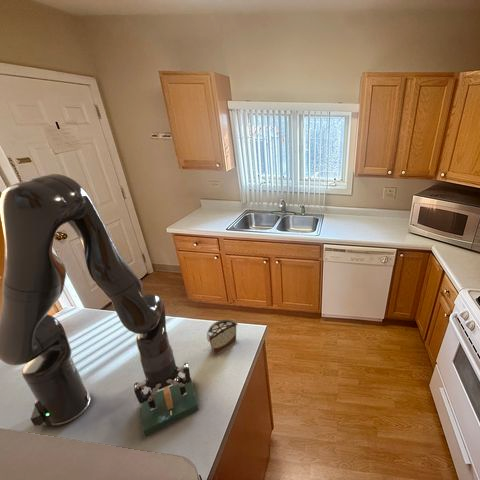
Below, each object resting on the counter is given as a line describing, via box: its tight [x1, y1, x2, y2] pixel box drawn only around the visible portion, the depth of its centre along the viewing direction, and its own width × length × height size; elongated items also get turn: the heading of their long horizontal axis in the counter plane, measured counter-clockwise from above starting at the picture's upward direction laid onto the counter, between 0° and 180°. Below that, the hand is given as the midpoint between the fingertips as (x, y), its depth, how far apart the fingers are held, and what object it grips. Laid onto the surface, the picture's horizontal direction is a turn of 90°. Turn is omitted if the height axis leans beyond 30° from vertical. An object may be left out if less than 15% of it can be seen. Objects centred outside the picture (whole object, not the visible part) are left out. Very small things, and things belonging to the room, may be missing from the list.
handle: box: [162, 386, 173, 410], centre depth 77 cm, size 6×1×5 cm, turn 35°
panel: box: [141, 377, 199, 437], centre depth 78 cm, size 14×11×3 cm
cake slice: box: [206, 318, 238, 357], centre depth 100 cm, size 12×6×10 cm, turn 141°
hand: (168, 399), depth 78 cm, fingers open, 7 cm apart
